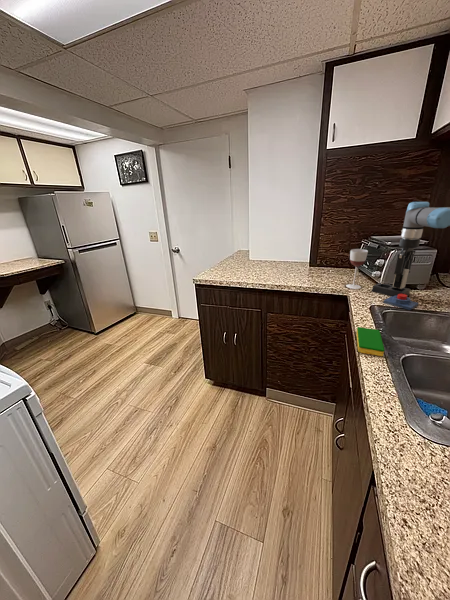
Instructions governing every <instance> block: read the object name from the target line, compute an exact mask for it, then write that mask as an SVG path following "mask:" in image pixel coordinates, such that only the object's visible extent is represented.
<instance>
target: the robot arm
mask: <svg viewBox="0 0 450 600" xmlns="http://www.w3.org/2000/svg"><path fill="white" fill-rule="evenodd" d="M424 227H426V228H427V227H428V228H433V229H446V228H447V227H450V206H446V207H445V206H444V207H430V202H429V201H412V202H409V203H408V205H407V208H406V211H405V215H404V219H403V225H402V229H401V230H400V232H401V234H400V237H401V238H400V239H399V243H398V246H399V247H400V248H401V251H400V252H399V253H397V260H396V264H395V269H394V273H393V275H395V274H396V277H395V276H394V278H395V282H394V281H393V282H394V286H393V287H396V288H400V286H401V282H402V278H403V275H402V274H403V271H404V269H409V273H408V274H410V273H411V268H412V265H413V261H414V256H415V254H416V250H415V249H417V248H419V247H420V243H421V238H422V236H423V232H424Z"/></svg>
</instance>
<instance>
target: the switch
mask: <svg viewBox="0 0 450 600" xmlns="http://www.w3.org/2000/svg"><path fill="white" fill-rule="evenodd" d="M407 297H408V296H407V295H405V294H398V296H397V298H398V299H401V300H406V299H407Z"/></svg>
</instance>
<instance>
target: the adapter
mask: <svg viewBox="0 0 450 600" xmlns="http://www.w3.org/2000/svg"><path fill="white" fill-rule="evenodd" d="M381 283H382V282H379V283H376V284H373V285H372V290H371V292H373V293H378V294H382V295H385V296H389V297H391V296H397V295H398V294H405V295H407V297H408V296H409V295H410V293H411V288H407V287H404V288H402V289H400V288H395V287H392V286H393V284H389V283H385V284H381Z"/></svg>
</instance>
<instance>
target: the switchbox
mask: <svg viewBox="0 0 450 600" xmlns="http://www.w3.org/2000/svg"><path fill="white" fill-rule="evenodd" d="M397 296H398V295H397ZM397 296H389V297H387V298H386V299H384V300H383V302H382V303H383V304H386V305H390V306H394V307H397V308H401V309H405V310H408V311H412V310H413V309H415V308H416V307H417V306H419V302H417V301H412V300H411V298H410V297H408V296H407V299H406V300H401V299H398V298H397Z"/></svg>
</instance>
